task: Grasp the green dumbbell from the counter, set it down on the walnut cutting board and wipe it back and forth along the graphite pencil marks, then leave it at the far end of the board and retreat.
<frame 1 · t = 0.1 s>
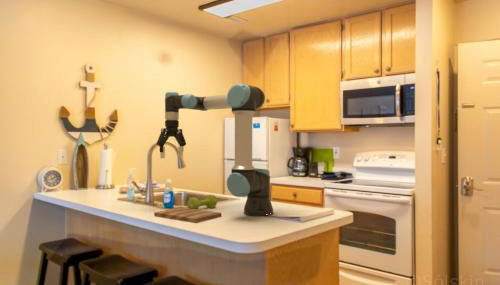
hand: (171, 157, 207), 28 cm above the worktop, fingers open, 13 cm apart
board: (187, 216, 183), on the worktop
dumbbell: (202, 209, 202), on the worktop
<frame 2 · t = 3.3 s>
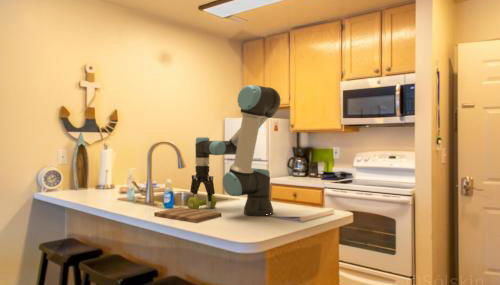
hand: (202, 206, 202), 1 cm above the worktop, fingers closed on dumbbell, 8 cm apart
dumbbell: (202, 209, 202), on the worktop, touching gripper
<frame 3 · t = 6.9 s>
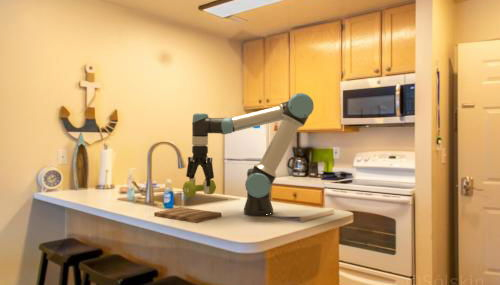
hand: (199, 192, 178), 12 cm above the worktop, fingers closed on dumbbell, 8 cm apart
dumbbell: (199, 195, 178), point 11 cm above the worktop, touching gripper
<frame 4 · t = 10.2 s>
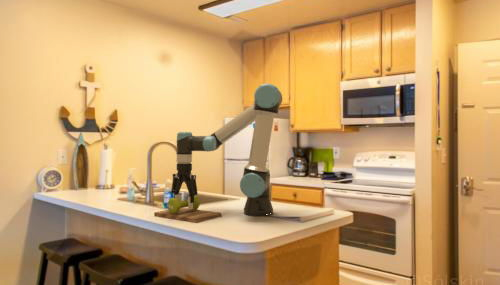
hand: (184, 208, 184), 4 cm above the worktop, fingers closed on dumbbell, 8 cm apart
dumbbell: (183, 211, 184), point 2 cm above the worktop, touching gripper
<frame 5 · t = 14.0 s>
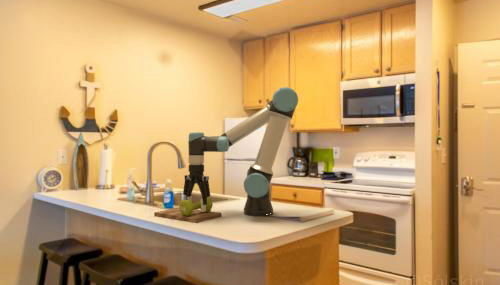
hand: (196, 210, 179), 3 cm above the worktop, fingers closed on dumbbell, 8 cm apart
dumbbell: (196, 213, 179), point 2 cm above the worktop, touching gripper
when the fingers open (3 cm above the worktop, at t = 17.4 s): dumbbell stays where it is, resting on board.
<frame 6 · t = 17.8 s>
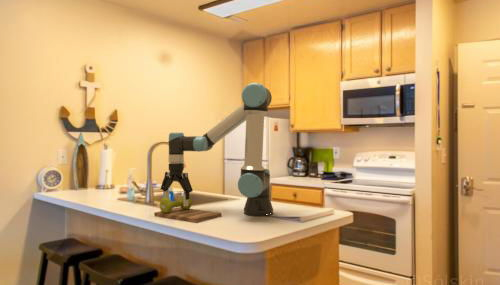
hand: (176, 204, 187), 5 cm above the worktop, fingers open, 13 cm apart
dumbbell: (176, 211, 187), point 2 cm above the worktop, touching board
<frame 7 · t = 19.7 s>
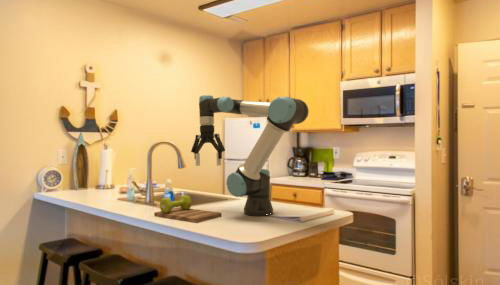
hand: (208, 165, 193), 24 cm above the worktop, fingers open, 13 cm apart
nothing on the worktop moved.
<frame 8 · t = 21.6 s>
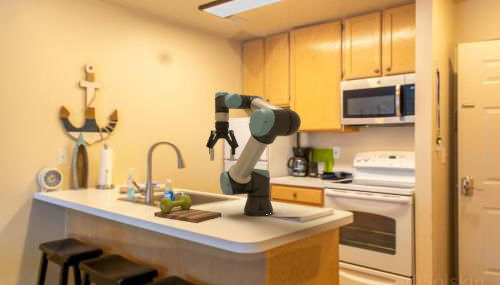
hand: (221, 160, 197), 27 cm above the worktop, fingers open, 13 cm apart
nothing on the worktop moved.
at the end: dumbbell inside the target area on the board (0.4 cm from its centre), point 1.6 cm above the board's base; dumbbell tilted 0°; the gripper is holding nothing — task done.
